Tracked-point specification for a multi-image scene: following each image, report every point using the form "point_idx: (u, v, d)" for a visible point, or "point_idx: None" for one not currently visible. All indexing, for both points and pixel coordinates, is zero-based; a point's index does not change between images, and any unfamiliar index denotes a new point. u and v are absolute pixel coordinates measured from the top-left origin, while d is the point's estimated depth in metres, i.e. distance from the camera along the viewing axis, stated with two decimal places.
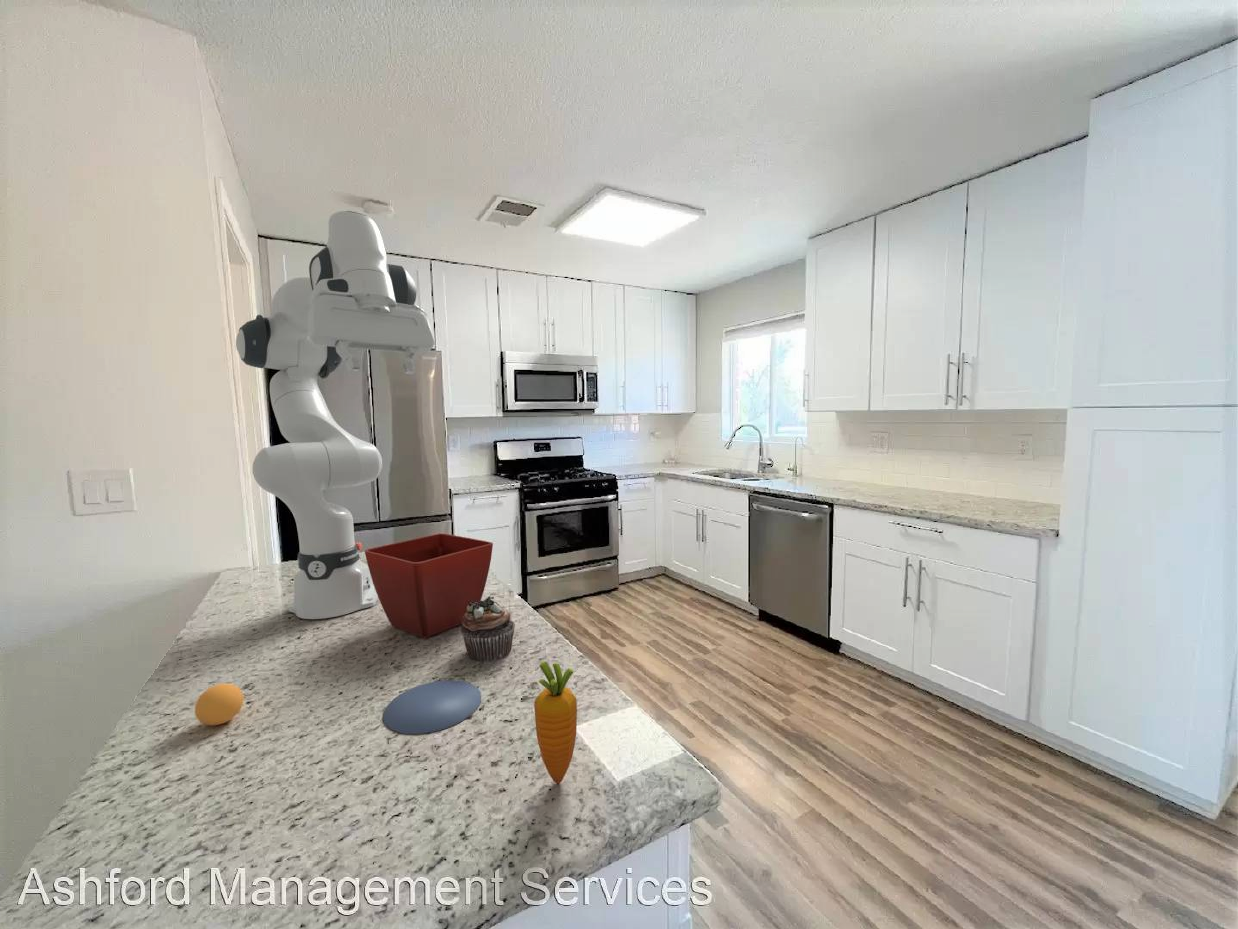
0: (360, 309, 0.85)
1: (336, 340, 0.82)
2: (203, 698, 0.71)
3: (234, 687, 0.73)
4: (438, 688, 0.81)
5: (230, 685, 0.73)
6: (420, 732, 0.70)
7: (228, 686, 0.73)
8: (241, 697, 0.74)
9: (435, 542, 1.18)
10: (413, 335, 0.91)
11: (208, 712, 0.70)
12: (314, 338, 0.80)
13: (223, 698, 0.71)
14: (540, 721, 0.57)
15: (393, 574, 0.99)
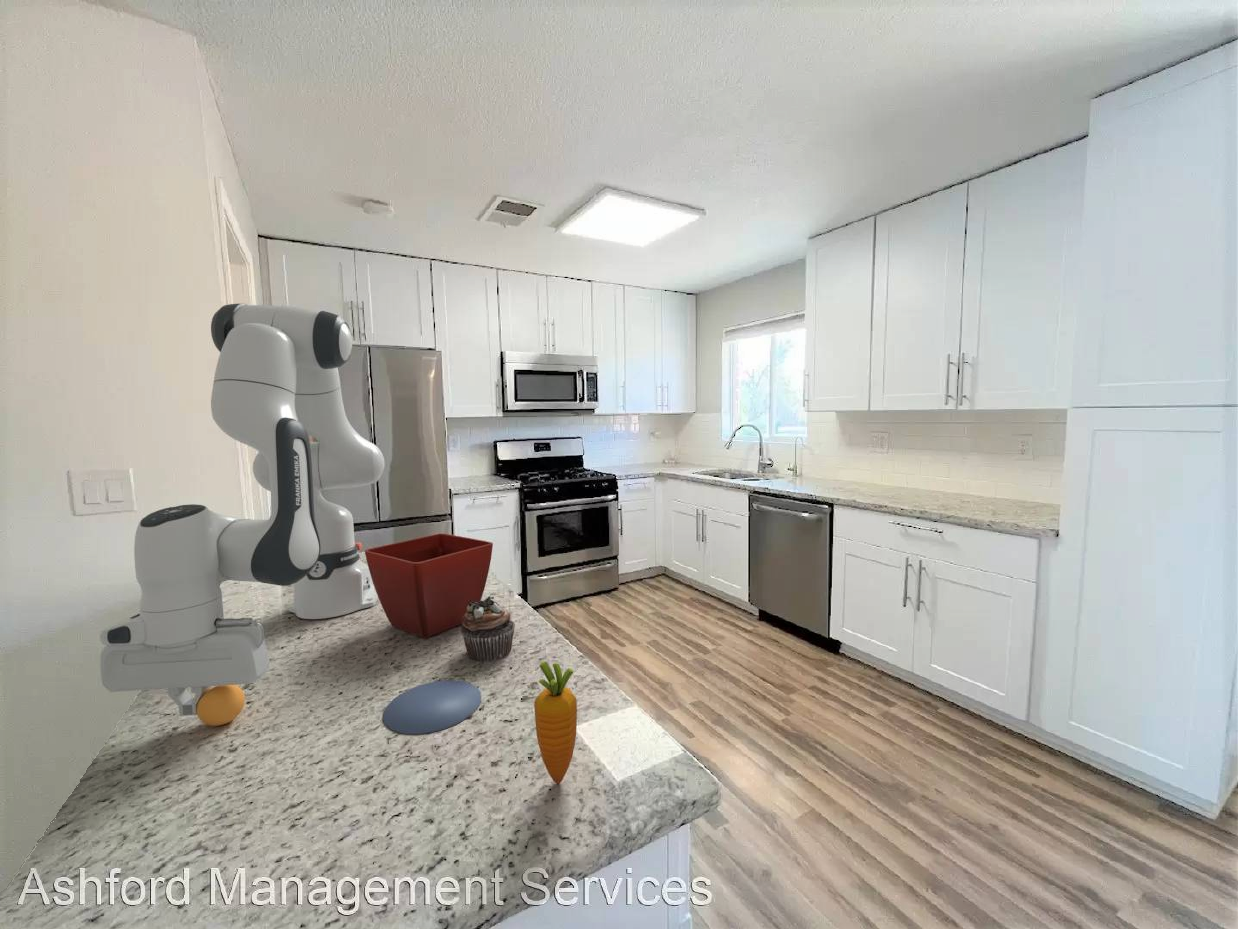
0: None
1: None
2: (206, 699, 0.71)
3: (237, 688, 0.73)
4: (438, 688, 0.81)
5: (233, 686, 0.73)
6: (420, 732, 0.70)
7: (231, 687, 0.73)
8: (243, 699, 0.74)
9: (435, 542, 1.18)
10: (224, 673, 0.71)
11: (211, 713, 0.70)
12: None
13: (226, 700, 0.71)
14: (540, 721, 0.57)
15: (393, 574, 0.99)
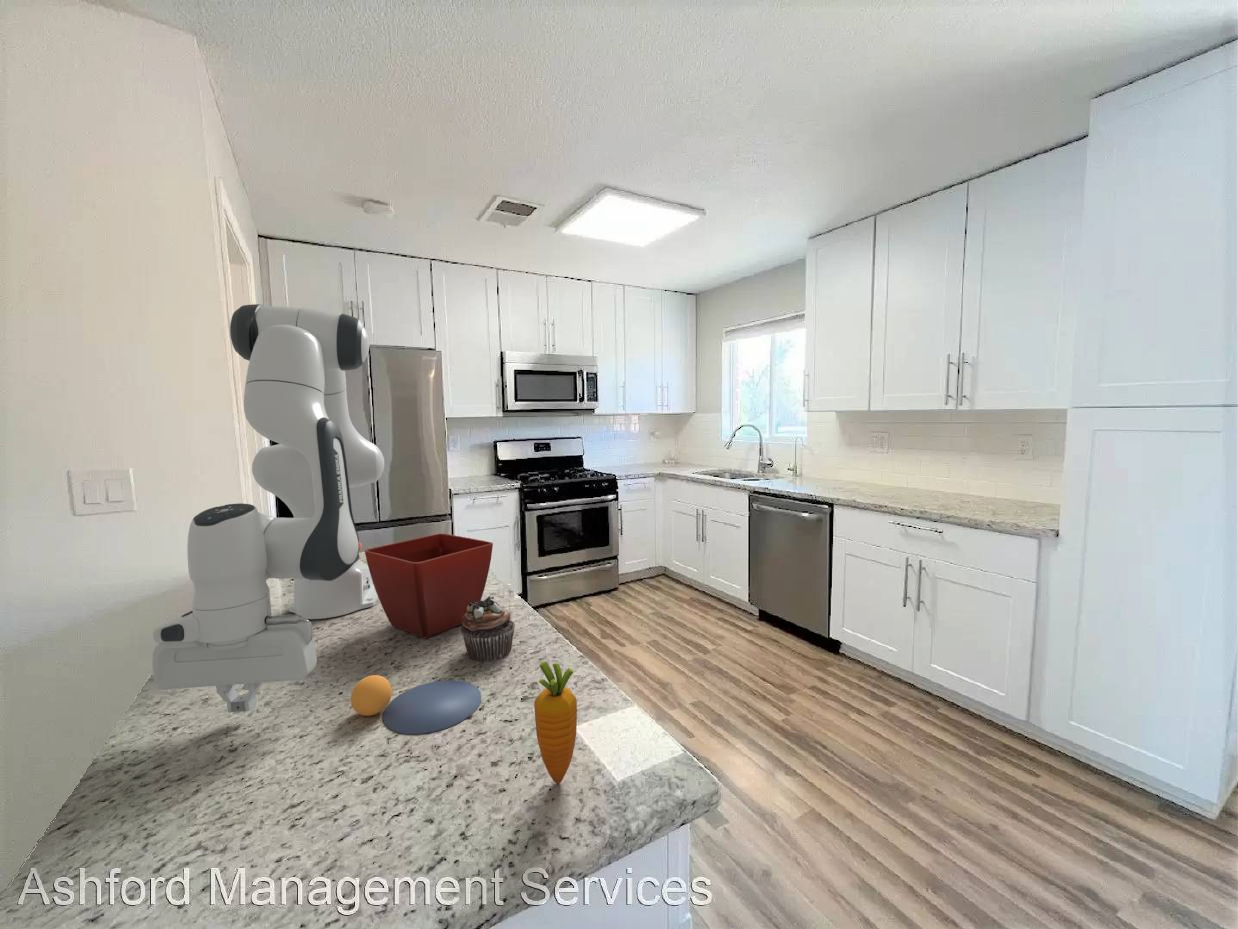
0: (209, 648, 0.70)
1: None
2: (375, 691, 0.73)
3: (391, 695, 0.76)
4: (438, 688, 0.81)
5: (391, 691, 0.76)
6: (420, 732, 0.70)
7: (391, 692, 0.75)
8: None
9: (435, 542, 1.18)
10: (275, 670, 0.71)
11: (368, 707, 0.72)
12: None
13: (383, 705, 0.73)
14: (540, 721, 0.57)
15: (393, 574, 0.99)
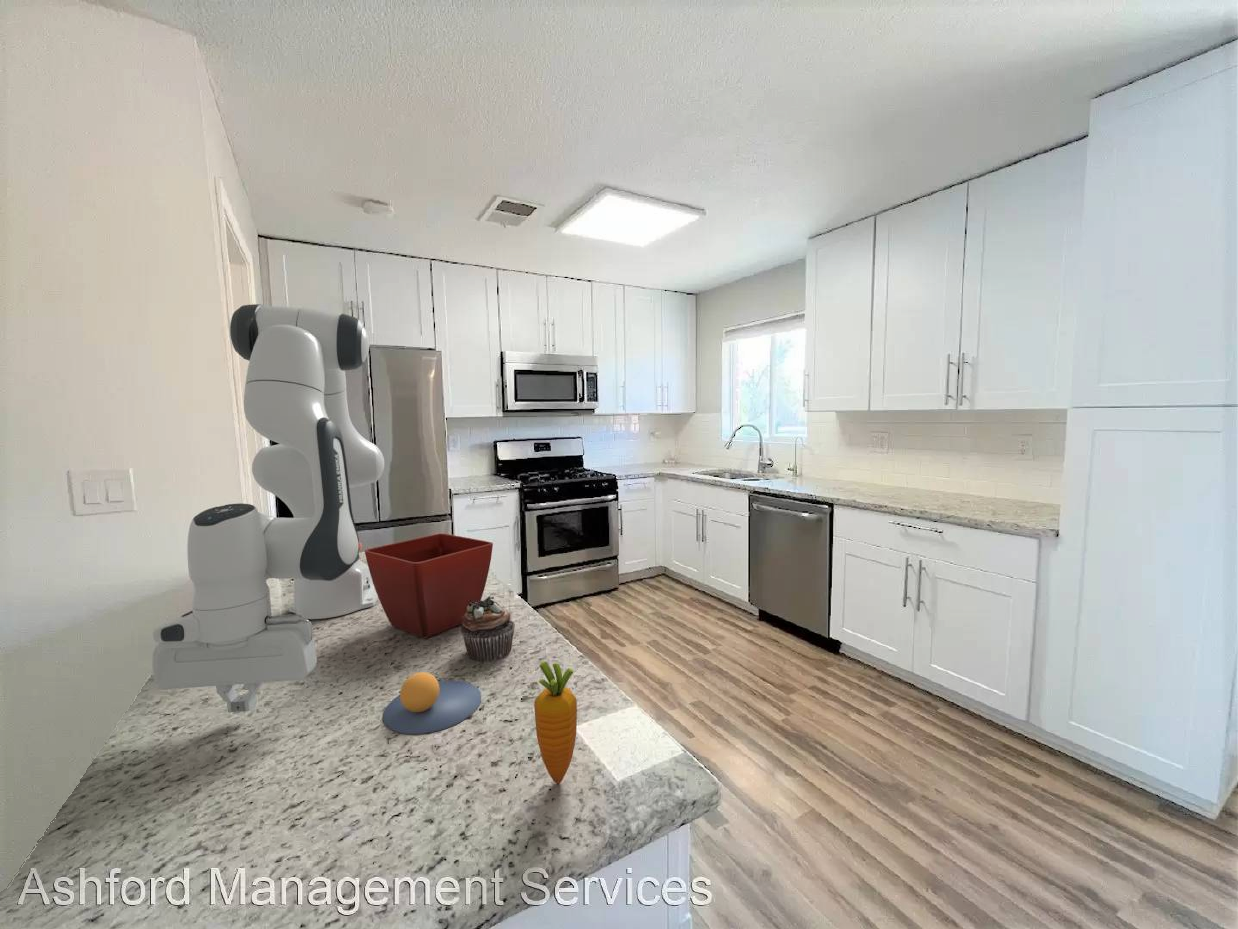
0: (209, 648, 0.70)
1: None
2: None
3: None
4: None
5: None
6: (420, 732, 0.70)
7: None
8: None
9: (435, 542, 1.18)
10: (275, 670, 0.71)
11: (409, 702, 0.72)
12: None
13: (401, 701, 0.74)
14: (540, 721, 0.57)
15: (393, 574, 0.99)
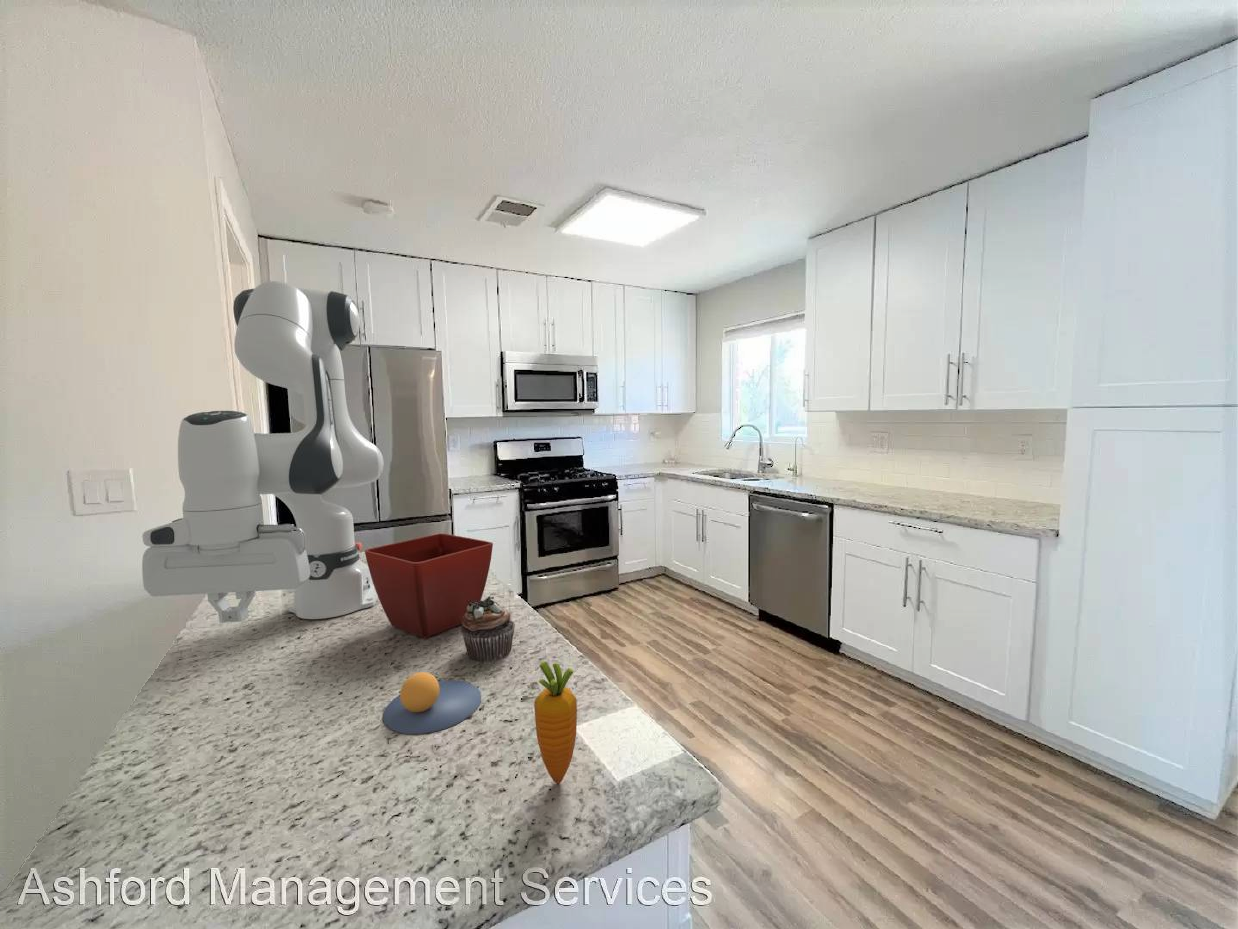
0: (200, 554, 0.69)
1: None
2: None
3: None
4: None
5: None
6: (420, 732, 0.70)
7: None
8: None
9: (435, 542, 1.18)
10: (267, 578, 0.70)
11: (409, 702, 0.72)
12: None
13: (401, 701, 0.74)
14: (540, 721, 0.57)
15: (393, 574, 0.99)
